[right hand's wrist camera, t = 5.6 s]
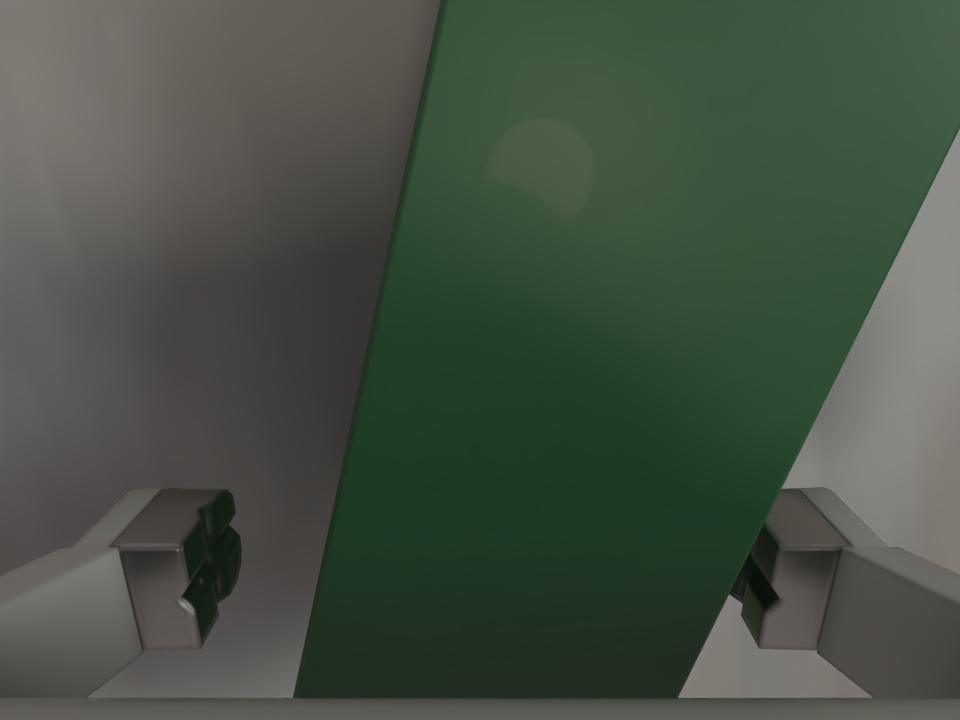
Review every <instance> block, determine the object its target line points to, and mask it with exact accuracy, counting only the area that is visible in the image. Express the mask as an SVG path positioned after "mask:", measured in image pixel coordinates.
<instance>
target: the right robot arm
mask: <svg viewBox="0 0 960 720" xmlns="http://www.w3.org/2000/svg"><path fill="white" fill-rule="evenodd" d="M235 513H236V510H235V505H234V500H233V495H232V494H231V493H230V492H229V491H228V490H227V489H194V488H135V489H130V490H129V491H128V492H127V493H126V494H124V495H123V496H122V497H121V498H120V499H119V500H118V501H117V502H116V503H115V504H114V505H113V506H112V507H111V508H110V509H109V510H108V511H107V512H106V513H105V514H104V515H103V516H102V517H101V518H100V519H99V520H98V521H97V522H96V523H95V524H94V525H93V526H92V527H91V528H90V529H89V530H88V531H87V532H86V533H85V534H84V535H83V536H82V537H81V538H80V539H79V540H78V541H77V542H76V543H75V544H74V545H73V546H72V547H61V548H59V549H56V550H54V551H52V552H50V553H47V554H45V555H43V556H41V557H39V558H36V559H34V560H32V561H30V562H27V563H25V564H23V565H21V566H19V567H16V568H14V569H12V570H10V571H7V572H5V573H3V574H1V575H0V720H960V575H959V574H957V573H955V572H952V571H950V570H948V569H946V568H944V567H941V566H939V565H937V564H935V563H932V562H930V561H928V560H926V559H924V558H921V557H919V556H917V555H915V554H913V553H910V552H908V551H906V550H904V549H901V548H899V547H888V546H887V545H886V544H885V543H884V542H883V541H882V540H881V539H880V538H879V537H878V536H877V535H876V534H875V533H874V532H873V531H872V530H871V529H870V528H869V527H868V526H867V525H866V524H865V523H864V522H863V521H862V520H861V519H860V518H859V517H858V516H857V515H856V514H855V513H854V512H853V511H852V510H851V509H850V508H849V507H848V506H847V505H846V504H845V503H844V502H843V501H842V500H841V499H840V498H839V497H838V496H837V495H836V494H835V493H834V492H833V491H832V490H829V489H826V488H824V487H818V488H793V489H781V490H780V492H779V494H778V496H777V498H776V500H775V502H774V504H773V506H772V508H771V510H770V512H769V514H768V516H767V518H766V520H765V522H764V524H763V526H762V528H761V530H760V532H759V534H758V536H757V539H756V541H755V543H754V545H753V547H752V549H751V551H750V553H749V555H748V557H747V559H746V561H745V563H744V565H743V567H742V569H741V571H740V573H739V575H738V577H737V579H736V581H735V583H734V585H733V587H732V589H731V591H730V593H729V594H730V595H731V596H733V597H734V598H736V599H737V600H739V601H740V602H742V603H743V607H742V612H741V616H742V618H743V620H744V622H745V624H746V625H747V627H748V629H749V631H750V633H751V634H752V636H753V638H754V640H755V642H756V643H757V645H758V647H759V649H789V650H817V653H818V654H819V655H820V656H821V657H823V658H824V659H825V660H827V661H828V662H829V663H830V664H832V665H833V666H834V667H835V668H837V669H838V670H839V671H840V672H842V673H843V674H844V675H845V676H847V677H848V678H849V679H850V680H852V681H853V682H854V683H856V684H857V685H858V686H859V687H861V688H862V689H863V690H864V691H866V692H867V693H868V694H869V695H871V696H872V697H873V698H87V697H88V696H90V695H91V694H92V693H93V692H95V691H96V690H97V689H98V688H100V687H101V686H102V685H103V684H105V683H106V682H107V681H108V680H110V679H111V678H112V677H114V676H115V675H116V674H117V673H119V672H120V671H121V670H122V669H124V668H125V667H126V666H127V665H129V664H130V663H131V662H132V661H134V660H135V659H136V658H138V657H139V656H140V655H141V654H143V651H142V650H170V649H201V647H202V645H203V644H204V642H205V640H206V638H207V636H208V635H209V633H210V631H211V629H212V627H213V625H214V624H215V622H216V620H217V618H218V616H219V612H218V607H217V603H219V602H220V601H221V600H223V599H224V598H226V597H227V596H229V595H230V594H231V592H232V590H233V588H234V586H235V585H236V583H237V580H238V576H239V571H240V567H241V559H242V547H241V541H240V535H239V534H238V533H237V532H236V531H235V530H234V529H233V528H232V527H231V526H230V525H229V523H230V521H231V520H232V518H233V517H234V515H235Z"/></svg>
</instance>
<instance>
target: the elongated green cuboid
mask: <svg viewBox="0 0 960 720" xmlns="http://www.w3.org/2000/svg"><path fill="white" fill-rule="evenodd" d="M959 129H960V0H441V3H440V8H439V13H438V17H437V22H436V27H435V32H434V36H433V41H432V46H431V50H430V55H429V60H428V64H427V69H426V74H425V79H424V83H423V88H422V93H421V97H420V102H419V107H418V112H417V116H416V121H415V126H414V130H413V135H412V140H411V145H410V149H409V154H408V159H407V163H406V168H405V173H404V177H403V182H402V187H401V192H400V196H399V201H398V206H397V210H396V215H395V220H394V225H393V229H392V234H391V239H390V243H389V248H388V253H387V257H386V262H385V267H384V272H383V276H382V281H381V286H380V290H379V295H378V300H377V305H376V309H375V314H374V319H373V323H372V328H371V333H370V338H369V342H368V347H367V352H366V356H365V361H364V366H363V370H362V375H361V380H360V385H359V389H358V394H357V399H356V403H355V408H354V413H353V418H352V422H351V427H350V432H349V436H348V441H347V446H346V451H345V455H344V460H343V465H342V469H341V474H340V479H339V483H338V488H337V493H336V498H335V502H334V507H333V512H332V516H331V521H330V526H329V531H328V535H327V540H326V545H325V549H324V554H323V559H322V563H321V568H320V573H319V578H318V582H317V587H316V592H315V596H314V601H313V606H312V611H311V615H310V620H309V625H308V629H307V634H306V639H305V644H304V648H303V653H302V658H301V662H300V667H299V672H298V676H297V681H296V686H295V691H294V695H293V698H678V696H679V694H680V692H681V690H682V688H683V686H684V684H685V682H686V680H687V678H688V676H689V674H690V672H691V670H692V668H693V666H694V664H695V662H696V660H697V658H698V656H699V654H700V652H701V650H702V648H703V645H704V643H705V641H706V639H707V637H708V635H709V633H710V631H711V629H712V627H713V625H714V623H715V621H716V619H717V617H718V615H719V613H720V611H721V609H722V607H723V605H724V603H725V601H726V599H727V597H728V595H729V593H730V591H731V589H732V587H733V585H734V583H735V581H736V579H737V577H738V575H739V573H740V571H741V569H742V567H743V565H744V563H745V561H746V559H747V557H748V555H749V553H750V551H751V549H752V547H753V545H754V543H755V541H756V539H757V536H758V534H759V532H760V530H761V528H762V526H763V524H764V522H765V520H766V518H767V516H768V514H769V512H770V510H771V508H772V506H773V504H774V502H775V500H776V498H777V496H778V494H779V492H780V490H781V488H782V486H783V484H784V482H785V480H786V478H787V476H788V474H789V472H790V470H791V468H792V466H793V464H794V462H795V460H796V458H797V456H798V454H799V452H800V450H801V448H802V446H803V444H804V442H805V440H806V438H807V436H808V434H809V432H810V429H811V427H812V425H813V423H814V421H815V419H816V417H817V415H818V413H819V411H820V409H821V407H822V405H823V403H824V401H825V399H826V397H827V395H828V393H829V391H830V389H831V387H832V385H833V383H834V381H835V379H836V377H837V375H838V373H839V371H840V369H841V367H842V365H843V363H844V361H845V359H846V357H847V355H848V353H849V351H850V349H851V347H852V345H853V343H854V341H855V339H856V337H857V335H858V333H859V331H860V329H861V327H862V325H863V323H864V320H865V318H866V316H867V314H868V312H869V310H870V308H871V306H872V304H873V302H874V300H875V298H876V296H877V294H878V292H879V290H880V288H881V286H882V284H883V282H884V280H885V278H886V276H887V274H888V272H889V270H890V268H891V266H892V264H893V262H894V260H895V258H896V256H897V254H898V252H899V250H900V248H901V246H902V244H903V242H904V240H905V238H906V236H907V234H908V232H909V230H910V228H911V226H912V224H913V222H914V220H915V218H916V216H917V213H918V211H919V209H920V207H921V205H922V203H923V201H924V199H925V197H926V195H927V193H928V191H929V189H930V187H931V185H932V183H933V181H934V179H935V177H936V175H937V173H938V171H939V169H940V167H941V165H942V163H943V161H944V159H945V157H946V155H947V153H948V151H949V149H950V147H951V145H952V143H953V141H954V139H955V137H956V135H957V133H958V131H959Z"/></svg>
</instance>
